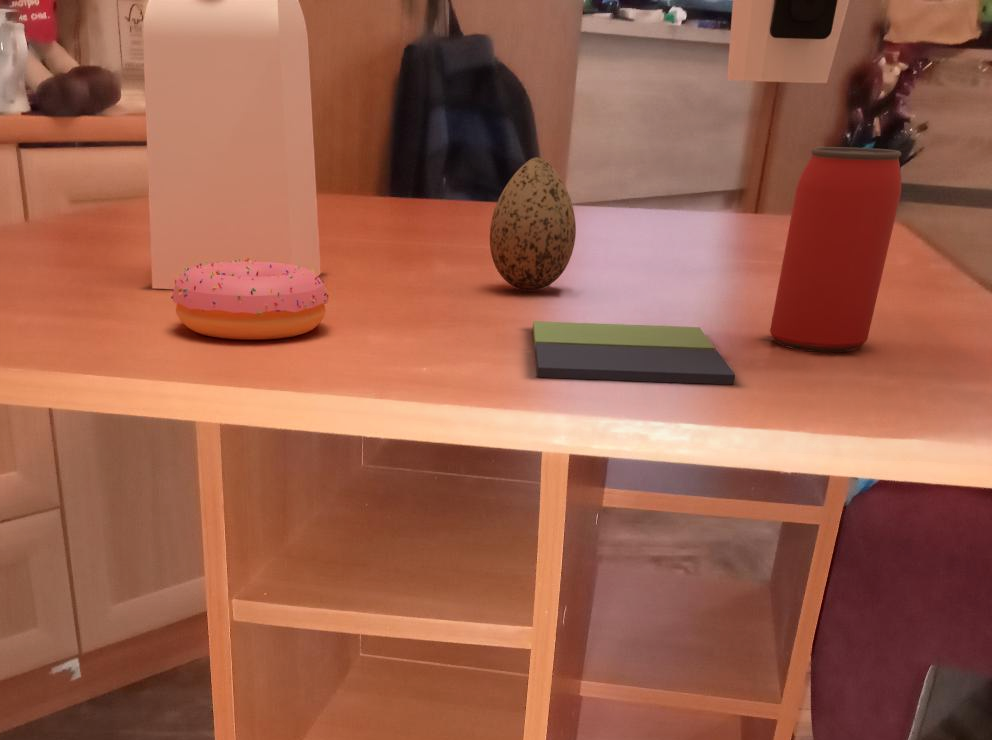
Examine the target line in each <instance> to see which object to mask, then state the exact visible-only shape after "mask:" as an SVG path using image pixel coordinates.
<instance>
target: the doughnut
mask: <svg viewBox="0 0 992 740" xmlns="http://www.w3.org/2000/svg"><path fill="white" fill-rule="evenodd" d="M248 260H249V258H248V259H247V261H246V260H245V262H240V259H239V262H236V260H235V262H233V261H232V260H230V262H221V263H219V262H217V263H211V264H208V262H206V263H207V264H204V265H201V263H200V265H199V266H198V265H196V267H193V268H191V269H189V268H187V269H186V268H185V270H186V271H185V272H184V273H183V274H182V275H181V273H180V275H179V278H178V280H175V287H174V289H172V290H173V291H172V296H170V299H172V301H173V302H174V303H175V304H176V305H175V314H176V315H177V317H178V319H179V320H180V321H181V323H182V324H183V325H184V326H185V327H187V328H188V329H190V330H191V331H193V332H195V333H197V334H200V335H203V336H207V337H211V338H218V339H226V340H241V341H242V340H243V341H244V340H245V341H261V340H263V341H264V340H265V341H266V340H278V339H286V338H291V337H292V338H293V337H297V336H301V335H304V334H307V333H308V332H311V331H312V330H314V329H315V328H317V327H318V326H319V325H320V324H321V322H322V320H323V319H324V318H325V316H326V312H327V311H326V306H325V304H328V303H329V297H330V295H329V294H328V292H327V286H325V284H324V282H325V281H324V280H321V278H320V277H319V276H317V275H316V273H315V272H313V271H314V269H312V270H308V268H303V267H300V266H296V265H291V264H284V263H273V262H256V261H255V262H251V261H248Z"/></svg>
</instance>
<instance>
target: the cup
mask: <svg viewBox="0 0 992 740" xmlns="http://www.w3.org/2000/svg"><path fill="white" fill-rule="evenodd" d="M774 1H775V0H732V8H731V23H730V33H729V34H730V35H729V46H728V47H729V50H728V61H727V63H728V64H727V73H726V74H727V75H726V80H727V81H738V82H739V81H740V82H767V83H768V82H770V83H801V84H804V83H805V84H808V83H809V84H828V80H829V77H830V73H831V69H832V65H833V62H834V58H835V54H836V51H837V47H838V45H839V40H840V36H841V34H842V33H841V32H842V29H843V26H844V22H845V18H846V15H847V11H848V7H849V3H850V0H838V1H837V6H836V11H835V16H834V21H833V26H832V31H831V34H830V35H829V36H828V37H827V38H825V39H792V38H774V37H772V36H771V34H770V25H771V19H772V13H773V7H774Z"/></svg>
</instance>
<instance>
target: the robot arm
mask: <svg viewBox="0 0 992 740" xmlns="http://www.w3.org/2000/svg"><path fill="white" fill-rule="evenodd" d="M837 1H838V0H775V1H774V7H773V13H772V19H771V25H770V34H771V36H772V37H774V38H792V39H825V38H827V37H828V36H829V35H830V34H831V31H832V26H833V21H834V16H835V11H836V6H837Z"/></svg>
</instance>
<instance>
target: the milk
mask: <svg viewBox="0 0 992 740" xmlns="http://www.w3.org/2000/svg"><path fill="white" fill-rule="evenodd" d="M142 45H143V46H142V47H143V48H142V49H143V73H144V75H143V77H144V99H145V100H144V101H145V103H144V104H145V122H146V123H145V127H146V129H145V130H146V132H145V133H146V156H147V158H146V159H147V180H148V181H147V182H148V183H147V184H148V209H149V210H148V211H149V235H150V237H149V238H150V264H151V265H150V266H151V267H150V268H151V289H157V290H158V289H160V290H174V287H175V280H178V278H179V275H180V273H181V275H182V274H183V273H184V272H185V271H186V270H185V268H186V269H187V268H189V269H191V268H193V267H196V265H198V266H199V265H200V263H201V265H204V264H207V263H206V262H208V264H211V263H217V262H219V263H221V262H230V260H232V261H233V262H235V260H236V262H239V259H240V262H245V260H246V261H247V259H248V258H249V260H248V261H251V262H255V261H256V262H273V263H284V264H291V265H296V266H300V267H303V268H308V270H312V269H314V271H313V272H315V273H316V275H317V276H318V277H319V276H320V275H321V273H322V271H321V252H320V233H319V217H318V216H319V215H318V201H317V200H318V199H317V181H316V179H317V178H316V162H315V159H316V158H315V143H314V129H313V128H314V127H313V126H314V123H313V108H312V107H313V105H312V90H311V89H312V88H311V72H310V71H311V69H310V53H309V51H310V50H309V37H308V29H307V23H306V19H305V15H304V12H303V10H302V6H301V3H300V1H299V0H148V1H147V3H146V8H145V12H144V15H143V24H142Z"/></svg>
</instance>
